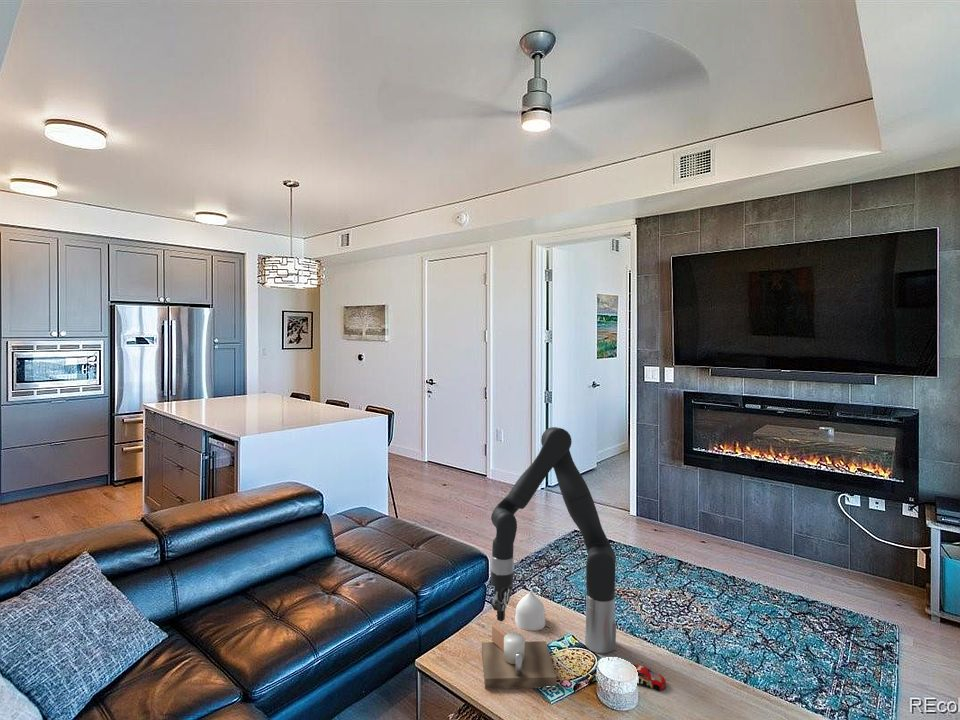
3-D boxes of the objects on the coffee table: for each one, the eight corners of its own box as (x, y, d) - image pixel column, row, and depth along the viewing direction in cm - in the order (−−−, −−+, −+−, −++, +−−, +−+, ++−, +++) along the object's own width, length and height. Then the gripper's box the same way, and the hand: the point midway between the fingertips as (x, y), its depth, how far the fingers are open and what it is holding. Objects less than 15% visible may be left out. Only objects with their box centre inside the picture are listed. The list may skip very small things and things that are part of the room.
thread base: (545, 650, 168) (546, 623, 167) (556, 687, 150) (557, 657, 150) (481, 651, 167) (482, 624, 166) (485, 688, 149) (485, 658, 148)
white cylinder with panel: (528, 659, 157) (528, 640, 157) (511, 666, 154) (512, 647, 153) (501, 637, 169) (502, 619, 169) (485, 643, 166) (486, 624, 165)
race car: (667, 683, 153) (668, 670, 152) (664, 694, 148) (665, 681, 148) (622, 669, 159) (623, 657, 159) (618, 679, 154) (619, 666, 154)
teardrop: (547, 616, 189) (547, 584, 188) (543, 632, 178) (544, 599, 178) (517, 612, 191) (518, 580, 191) (512, 628, 181) (513, 595, 180)
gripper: (500, 559, 177) (499, 608, 178) (483, 574, 166) (481, 626, 166) (520, 564, 174) (519, 613, 174) (504, 579, 162) (502, 633, 163)
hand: (500, 619), depth 170 cm, fingers closed
